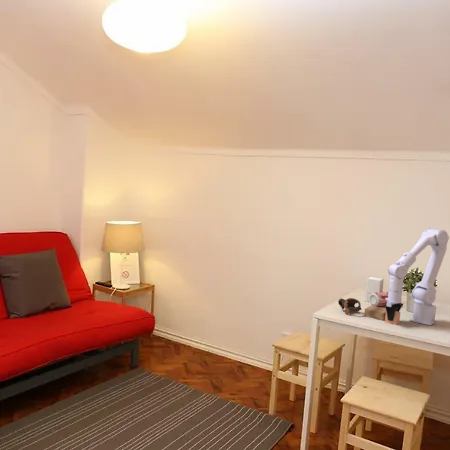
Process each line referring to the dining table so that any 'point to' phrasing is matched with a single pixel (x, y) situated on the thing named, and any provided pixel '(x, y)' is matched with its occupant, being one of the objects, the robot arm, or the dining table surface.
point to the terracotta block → (395, 320)
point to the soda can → (379, 298)
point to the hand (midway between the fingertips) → (392, 319)
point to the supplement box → (373, 286)
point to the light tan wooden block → (375, 312)
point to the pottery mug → (349, 305)
